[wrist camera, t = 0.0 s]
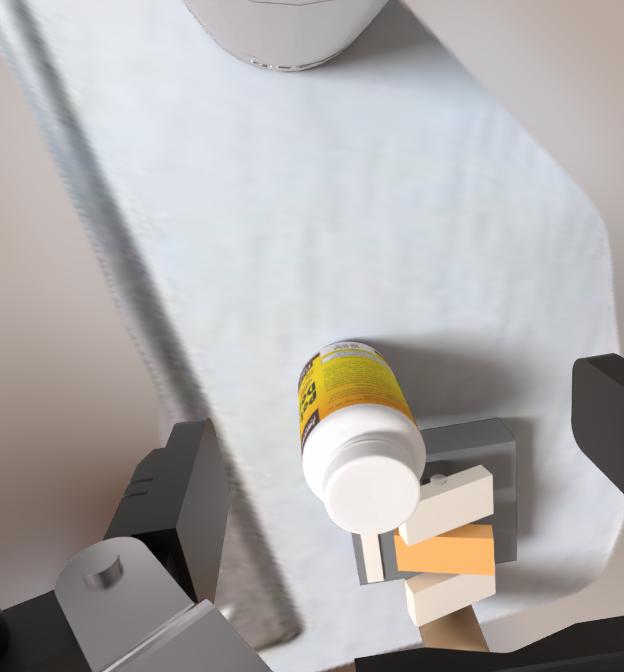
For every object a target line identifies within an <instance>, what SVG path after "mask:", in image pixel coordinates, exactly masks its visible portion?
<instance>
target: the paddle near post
mask: <svg viewBox="0 0 624 672" xmlns="http://www.w3.org/2000/svg"><path fill="white" fill-rule="evenodd" d="M494 573H495V560H494ZM405 587H406V596H407V605H408V614H409V615H410V617H411V619H412V620H413V622H414V624H415V625H416V627H419V626H422V625H424V624H426V623H429V622H431V621H433V620H436V619H438V618H440V617H443V616H445V615H447V614H450V613H452V612H454V611H457V610H459V609H461V608H464V607H466V606H468V605H471V604H473V603H475V602H478V601H480V600H482V599H485V598H487V597H489V596H492V595H494V594H496V589H495V576H493V575H474V574H454V573H434V572H425V573H422V574H420V575H417V576H415V577H412V578H410V579H407V580H405Z"/></svg>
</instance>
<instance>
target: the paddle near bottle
mask: <svg viewBox="0 0 624 672" xmlns="http://www.w3.org/2000/svg"><path fill="white" fill-rule="evenodd" d="M430 482H431V483H428V484H426V485H423V486H421V497H420V501H419V504H418V506H417V509H416V510H415V512H414V513H413V515H412V516H411V517H410V518H409V519H408V520H407V521H406V522H405V523H403V524H402V525H401V526H399V534H400V536H401V537H402V538H403V540H404V541H405V543H406V544H407V546H411V545H413V544H416V543H419V542H421V541H424V540H426V539H429V538H432V537H434V536H437V535H439V534H442V533H445V532H447V531H450V530H452V529H455V528H458V527H460V526H463V525H465V524H468V523H470V522H473V521H476V520H478V519H481V518H483V517H486V516H489V515H491V514H493V477H492V474H491V473H490V472H489V471H488V470H487V469H485V468H484V467H483V466H482V465H479V466H476V467H473V468H470V469H467V470H465V471H462V472H459V473H456V474H453V475H451V476H448V477H446V476H444V475H441V474H437V475H433V476H432V477H431V479H430Z"/></svg>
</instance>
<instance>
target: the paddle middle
mask: <svg viewBox="0 0 624 672" xmlns="http://www.w3.org/2000/svg"><path fill="white" fill-rule="evenodd" d="M394 540H395V549H396V557H397V565H398V571H415V572H434V573H454V574H474V575H493V576H495V573H494V538H493V532H492V525H474V524H465V525H463V526H460V527H458V528H455V529H452V530H450V531H447V532H445V533H442V534H439V535H437V536H434V537H432V538H429V539H426V540H424V541H421V542H419V543H416V544H413V545H411V546H407V544H406V543H405V541H404V540H403V538H402V537H401V536H400V534H399V527H397V528H395V529H394Z"/></svg>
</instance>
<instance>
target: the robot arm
mask: <svg viewBox="0 0 624 672" xmlns="http://www.w3.org/2000/svg"><path fill="white" fill-rule="evenodd" d="M182 1H183V2H184V4H185V5H186V6H187V8H188V9H189V11H190V12H191V13H192V14H193V16H194V17H195V18H196V20H197V21H198V22H199V23H200V25H201V26H202V27H203V28H204V29H205V31H206V32H207V33H208V34H209V35H210V36H211V37H212V38H213V39H214V40H215V41H216V43H217V44H218V45H219V46H221V47H222V48H223V49H225V50H226V51H228V52H229V53H230V54H232V55H233V56H234V57H236V58H237V59H239V60H241V61H244V62H246V63H248V64H251V65H253V66H255V67H257V68H262V69H267V70H272V71H278V72H284V71H301V70H304V69H308V68H311V67H315V66H318V65H321V64H323V63H324V62H326V61H328V60H330V59H332V58H333V57H335V56H337V55H339V54H340V53H341V52H342V51H343V50H344V49H346V48H347V47H349V45H350V44H351V43H352V42H353V41H355V40H356V39H357V37H358V36H359V35H360V34H361V33H362V31H363V30H364V29H365V28H366V27H367V26H368V25H369V24H370V23H371V21H372V20H373V19H374V18H375V17H376V15H377V14H378V13H379V12H380V11H381V9H382V8H383V7H384V6H385V5H386V4H387V2H388V1H389V0H182ZM571 424H572V431H573V435H574V438H575V440H576V443H577V445H578V446H579V448H580V449H581V451H582V452H583V453H584V454H585V455H586V456H587V457H588V458H589V459H590V460H591V461H592V462H593V463H594V464H595V465H596V466H597V467H598V468H599V469H600V470H601V471H602V472H603V473H604V474H605V475H606V476H607V477H608V478H609V479H610V480H611V481H612V482H613V483H614V484H615V485H616V486H617V487H618V488H619V490H620V491H621V492H622V493H623V494H624V358H622V357H621V356H619V355H617V354H615V353H611V354H605V355H599V356H593V357H586V358H580V359H577V360H576V361H575V363H574V365H573V370H572V416H571ZM228 509H229V489H228V482H227V477H226V473H225V469H224V465H223V461H222V457H221V453H220V449H219V445H218V441H217V437H216V433H215V429H214V426H213V423H212V421H211V419H210V418H206V419H199V420H193V421H187V422H181V423H176V424H175V425H174V427H173V430H172V432H171V435H170V437H169V440H168V442H167V445H166V447H165V448H159V449H154V450H153V451H152V452H151V453H149V454H148V455H147V456H146V457H145V458H144V459H143V460H142V461H141V462H140V463H139V464H138V465H137V467H136V470H135V472H134V474H133V476H132V478H131V480H130V484H129V485H128V487H127V489H126V491H125V493H124V498H122V500H121V502H120V504H119V506H118V508H117V510H116V513H115V515H114V517H113V519H112V521H111V523H110V526H109V528H108V530H107V532H106V534H105V536H104V539H103V541H102V542H99V543H97V544H94V545H92V546H90V547H89V548H87V549H85V550H84V551H82V552H80V553H79V554H78V555H77V556H75V557H74V558H73V559H72V560H71V561H70V562H68V564H67V565H66V566H65V567H64V568H63V569H62V571H61V572H60V574H59V576H58V578H57V580H56V583H55V589H54V590H52V591H50V592H48V593H45V594H43V595H40V596H38V597H35V598H33V599H30V600H28V601H25V602H23V603H20V604H17V605H15V606H13V607H10V608H8V609H5V610H3V611H1V609H0V672H273V671H272V670H271V669H270V668H269V667H268V665H267V664H266V663H265V662H264V661H263V660H262V659H261V658H260V656H259V655H258V654H257V653H256V652H255V651H254V650H253V648H252V647H251V646H250V645H249V644H248V643H247V642H246V641H245V639H244V638H243V637H242V636H241V635H240V634H239V633H238V632H237V630H236V629H235V628H234V627H233V626H232V625H231V624H230V622H229V621H228V620H227V619H226V618H225V617H224V616H223V615H222V613H221V612H220V611H219V610H218V609H217V608H216V607H215V606H214V599H215V593H216V586H217V580H218V573H219V567H220V560H221V554H222V548H223V541H224V535H225V528H226V522H227V515H228ZM354 660H355V667H356V672H624V616H620V617H613V618H607V619H600V620H594V621H587V622H581V623H576V624H573V625H571V626H569V627H567V628H565V629H563V630H560V631H558V632H556V633H554V634H552V635H550V636H547V637H545V638H543V639H541V640H538V641H536V642H534V643H532V644H530V645H527V646H525V647H523V648H521V649H519V650H516V651H514V652H509V653H494V652H482V651H469V650H456V649H444V648H431V647H424V648H418V649H411V650H405V651H399V652H393V653H386V654H380V655H374V656H367V657H361V658H355V659H354Z"/></svg>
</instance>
